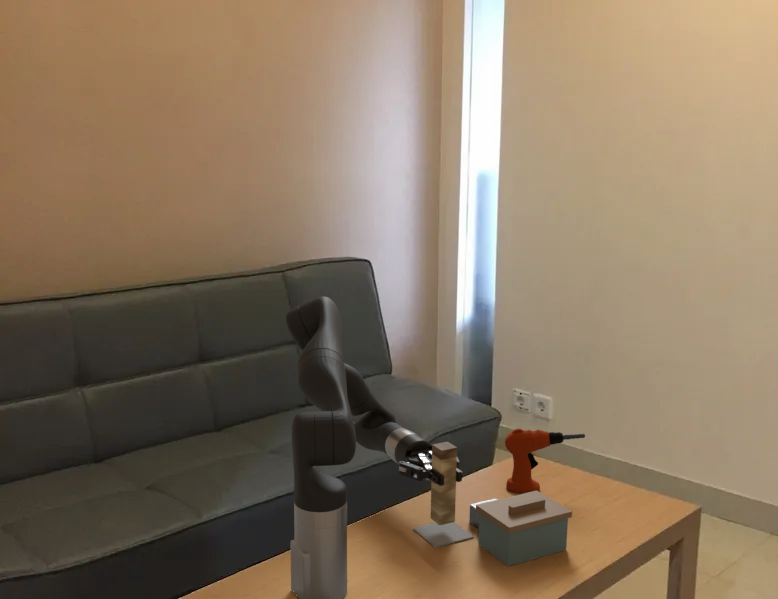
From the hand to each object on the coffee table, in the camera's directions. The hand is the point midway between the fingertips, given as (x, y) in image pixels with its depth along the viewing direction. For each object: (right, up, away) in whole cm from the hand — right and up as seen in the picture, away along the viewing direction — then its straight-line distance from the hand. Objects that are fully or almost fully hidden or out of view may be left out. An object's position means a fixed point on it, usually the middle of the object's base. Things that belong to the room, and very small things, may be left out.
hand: (451, 479), depth 165 cm
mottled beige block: (-1, -9, +4) cm, 10 cm away
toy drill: (+23, -8, +27) cm, 36 cm away
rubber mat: (-1, -12, +5) cm, 13 cm away
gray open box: (+9, -11, +9) cm, 17 cm away
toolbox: (+14, -13, 0) cm, 19 cm away
